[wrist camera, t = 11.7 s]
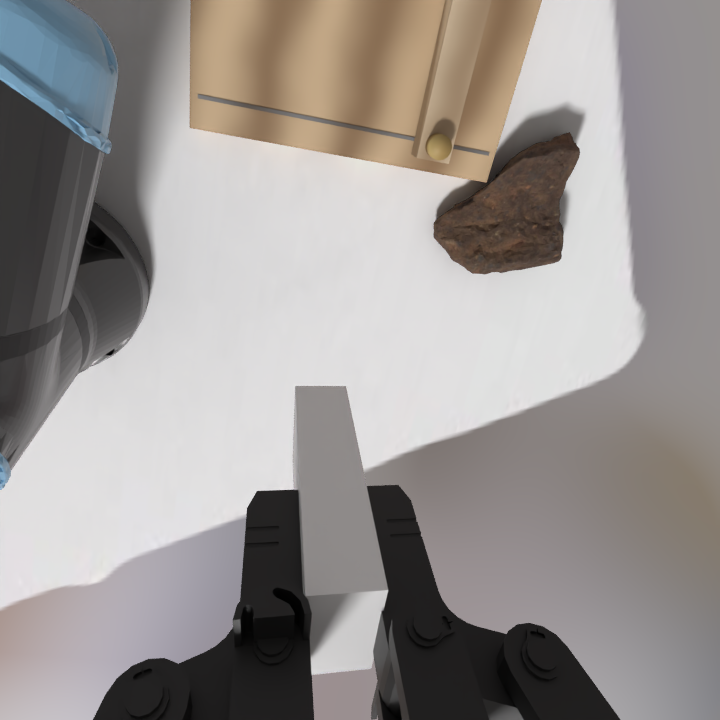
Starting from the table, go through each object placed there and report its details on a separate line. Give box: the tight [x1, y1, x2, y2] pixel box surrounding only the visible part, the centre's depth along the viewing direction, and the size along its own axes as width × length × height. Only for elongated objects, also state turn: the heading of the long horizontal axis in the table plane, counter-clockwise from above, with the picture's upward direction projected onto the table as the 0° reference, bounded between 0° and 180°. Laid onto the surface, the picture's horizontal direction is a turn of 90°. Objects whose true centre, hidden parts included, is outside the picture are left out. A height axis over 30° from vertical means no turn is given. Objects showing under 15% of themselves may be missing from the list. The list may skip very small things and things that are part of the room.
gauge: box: [411, 0, 492, 164], centre depth 31 cm, size 5×15×6 cm, turn 169°
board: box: [190, 0, 542, 183], centre depth 32 cm, size 22×12×2 cm, turn 79°
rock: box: [434, 132, 580, 274], centre depth 39 cm, size 11×10×4 cm
